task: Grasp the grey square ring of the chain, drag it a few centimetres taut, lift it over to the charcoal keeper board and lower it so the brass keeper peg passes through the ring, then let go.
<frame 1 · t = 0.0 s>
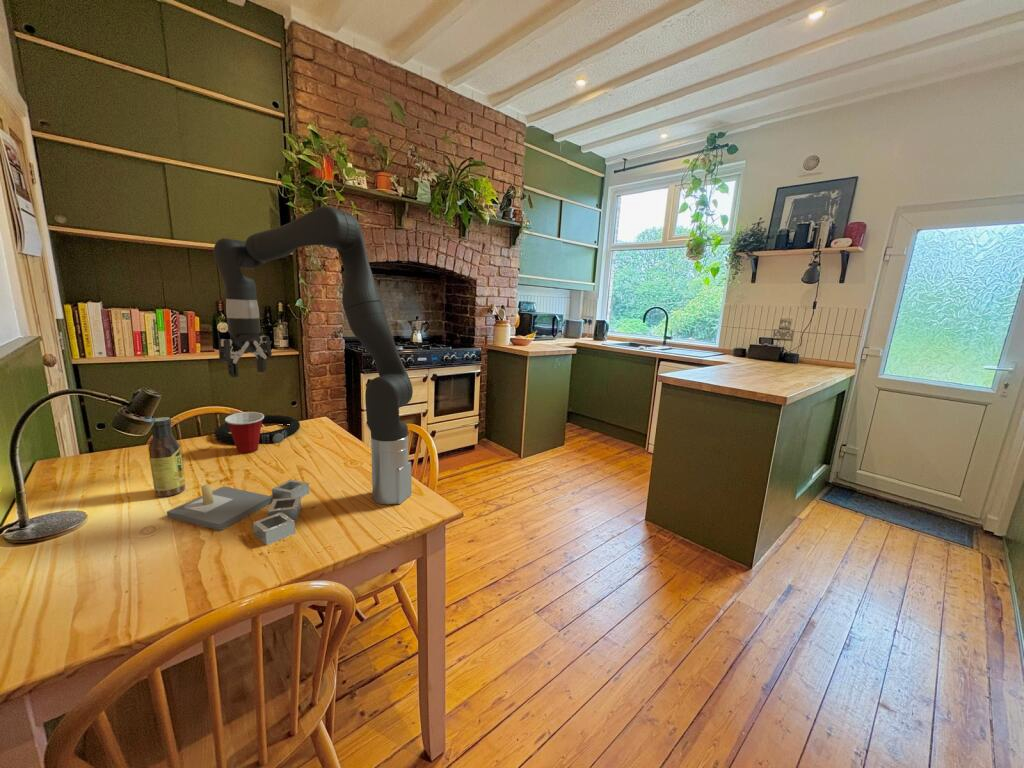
hand: (248, 374, 115), 29 cm above the table, fingers open, 8 cm apart
sauce bottle: (170, 492, 107), on the table
grey square ring: (291, 496, 107), on the table
plastic cup: (248, 451, 136), on the table
slack link 1: (285, 515, 98), on the table
keeper board: (222, 509, 100), on the table
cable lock: (260, 434, 153), on the table
slack link 2: (274, 533, 90), on the table
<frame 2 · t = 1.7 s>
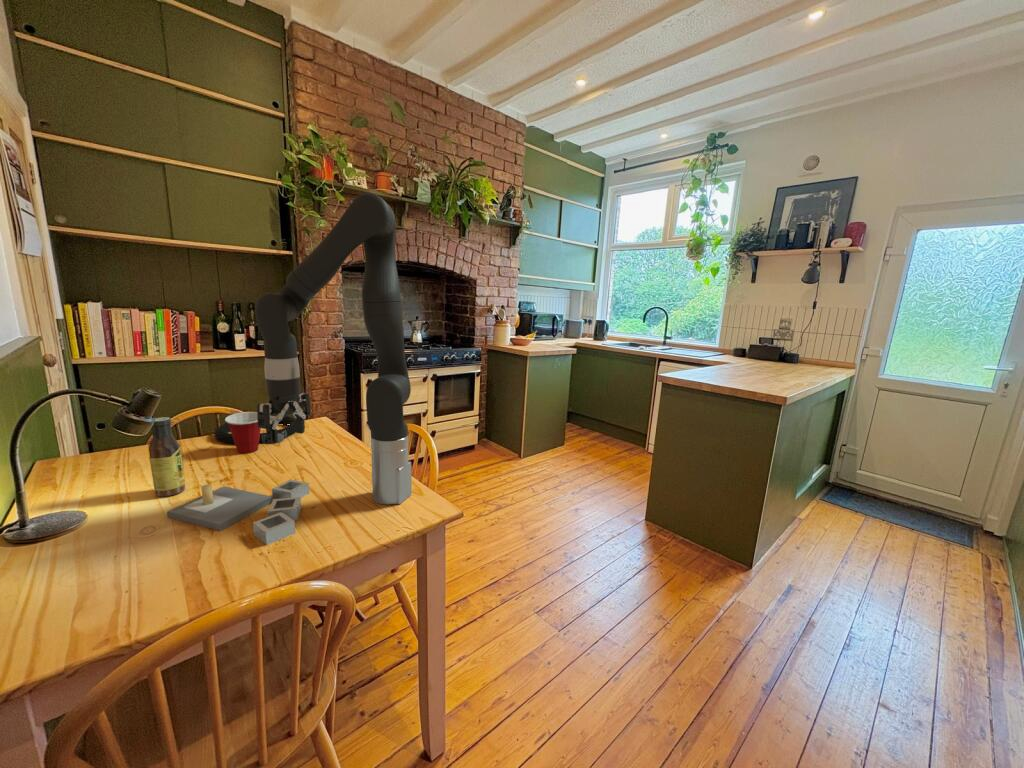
hand: (287, 437, 104), 16 cm above the table, fingers open, 8 cm apart
nothing on the table moved.
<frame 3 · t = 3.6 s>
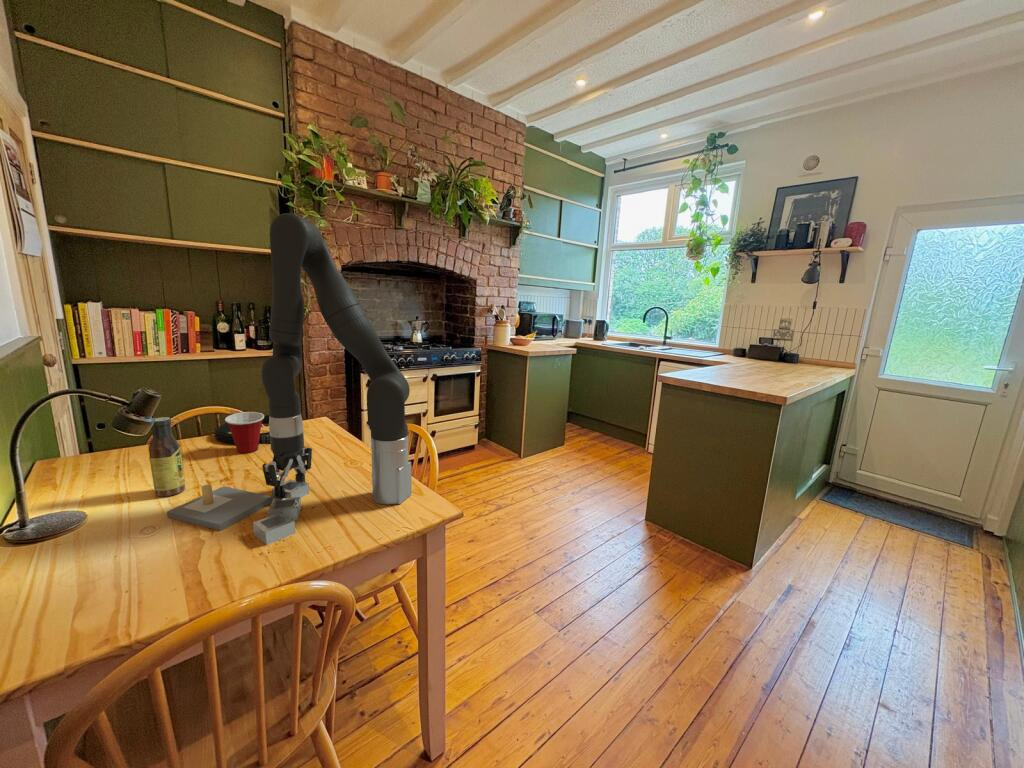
hand: (291, 492, 107), 1 cm above the table, fingers closed on grey square ring, 6 cm apart
grey square ring: (291, 496, 107), on the table, touching gripper
everything else where it was.
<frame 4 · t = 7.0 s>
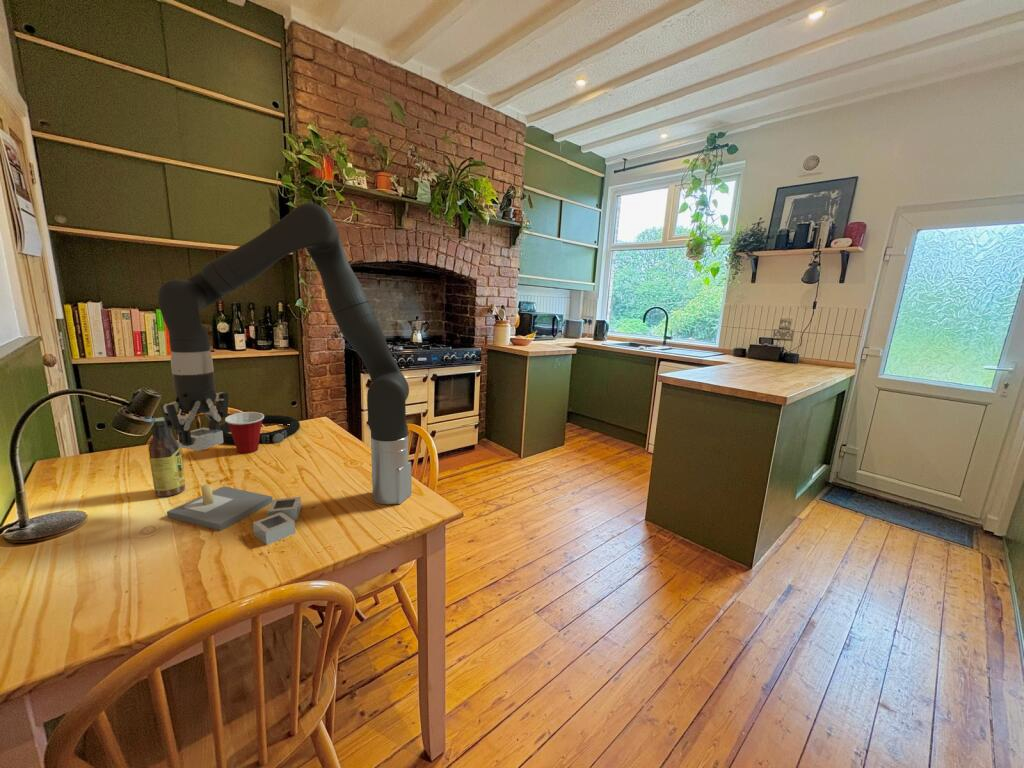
hand: (201, 440, 96), 18 cm above the table, fingers closed on grey square ring, 6 cm apart
grey square ring: (201, 444, 96), point 17 cm above the table, touching gripper
everything else where it was.
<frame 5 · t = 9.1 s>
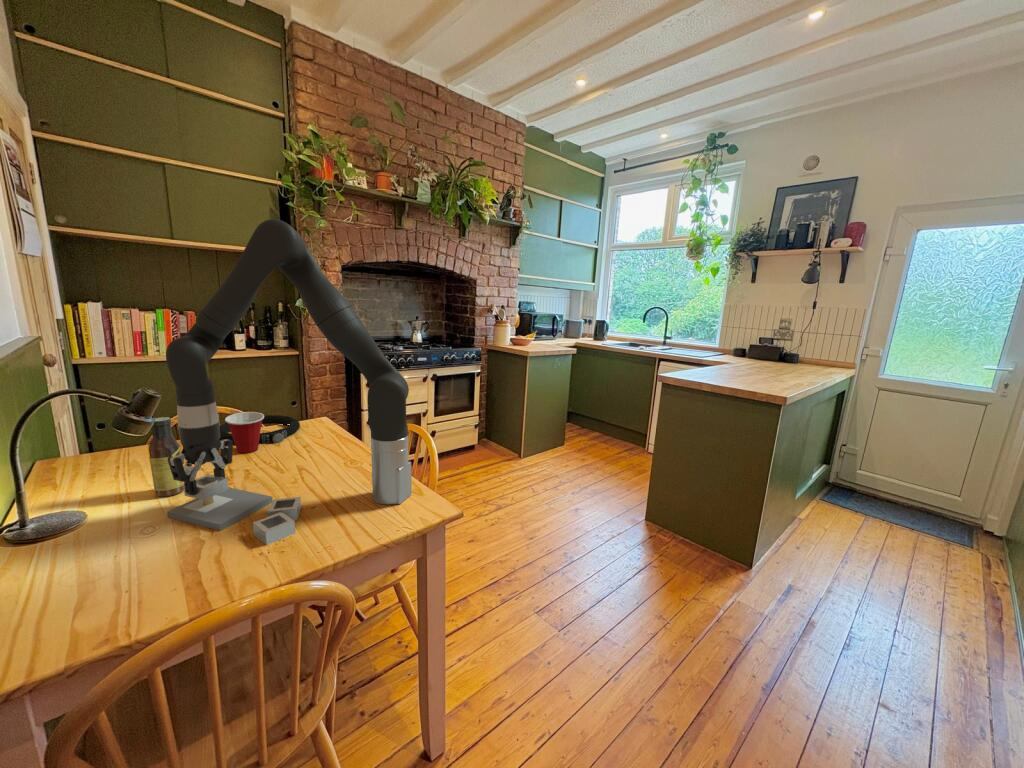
hand: (206, 488, 98), 5 cm above the table, fingers closed on grey square ring, 6 cm apart
grey square ring: (206, 492, 98), point 4 cm above the table, touching gripper
everything else where it was.
when the fingers open (5 cm above the table, at t = 10.6 s): grey square ring drops 2 cm, resting on keeper board.
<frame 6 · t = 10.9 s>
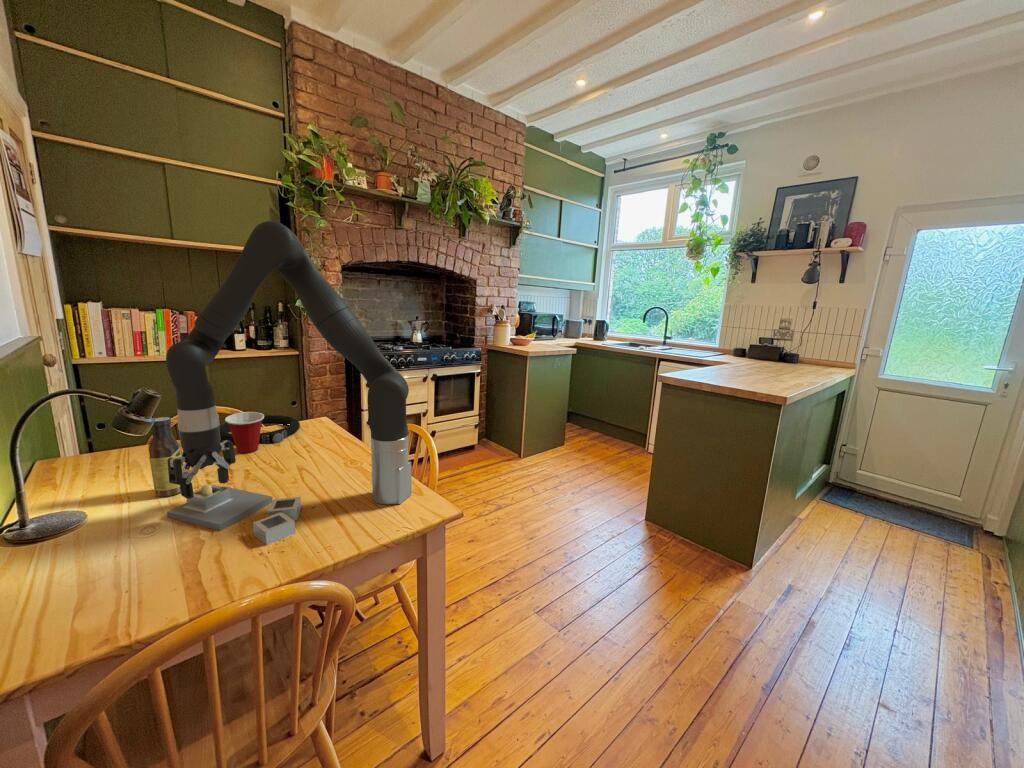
hand: (206, 489, 98), 5 cm above the table, fingers open, 8 cm apart
grey square ring: (209, 502, 99), point 2 cm above the table, touching keeper board
everything else where it was.
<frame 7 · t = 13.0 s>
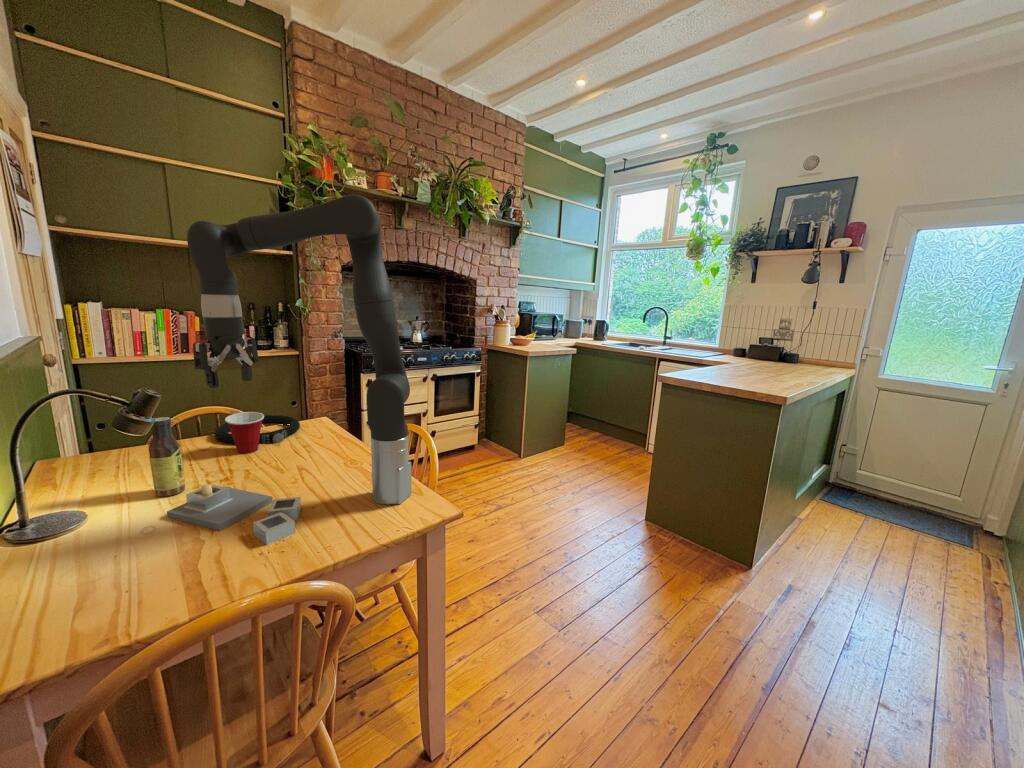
hand: (231, 384, 97), 31 cm above the table, fingers open, 8 cm apart
nothing on the table moved.
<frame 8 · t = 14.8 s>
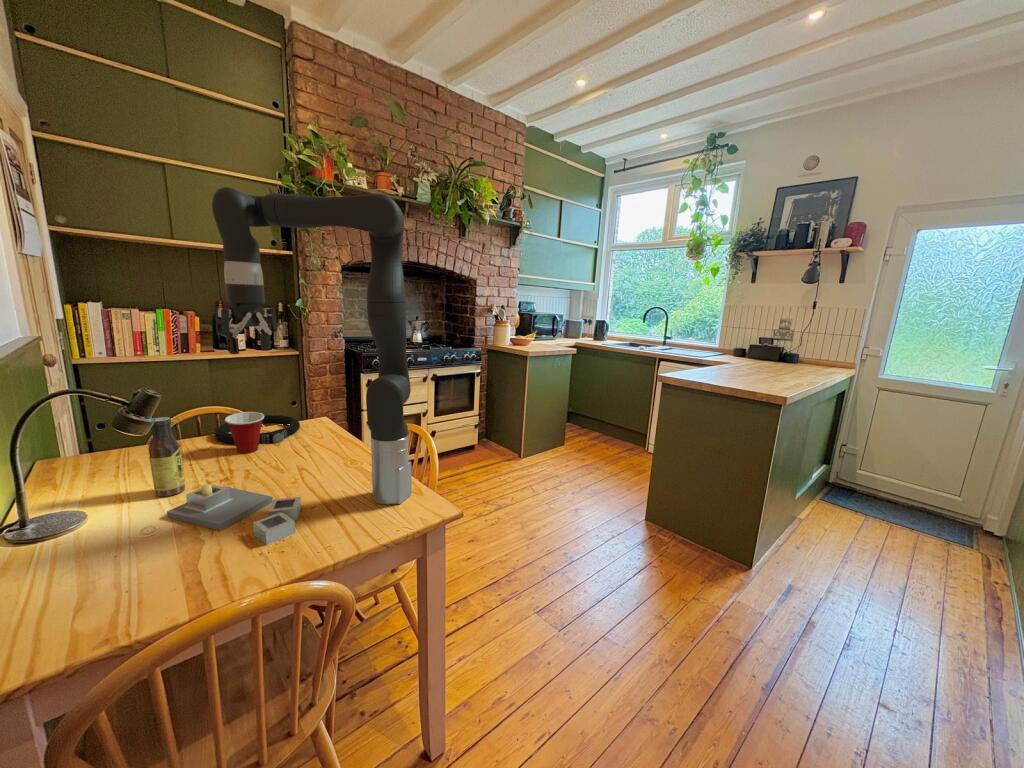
hand: (250, 352, 98), 38 cm above the table, fingers open, 8 cm apart
nothing on the table moved.
at the end: grey square ring 0.2 cm from the target spot on the keeper board, point 1.6 cm above the keeper board's base; the gripper is holding nothing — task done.
